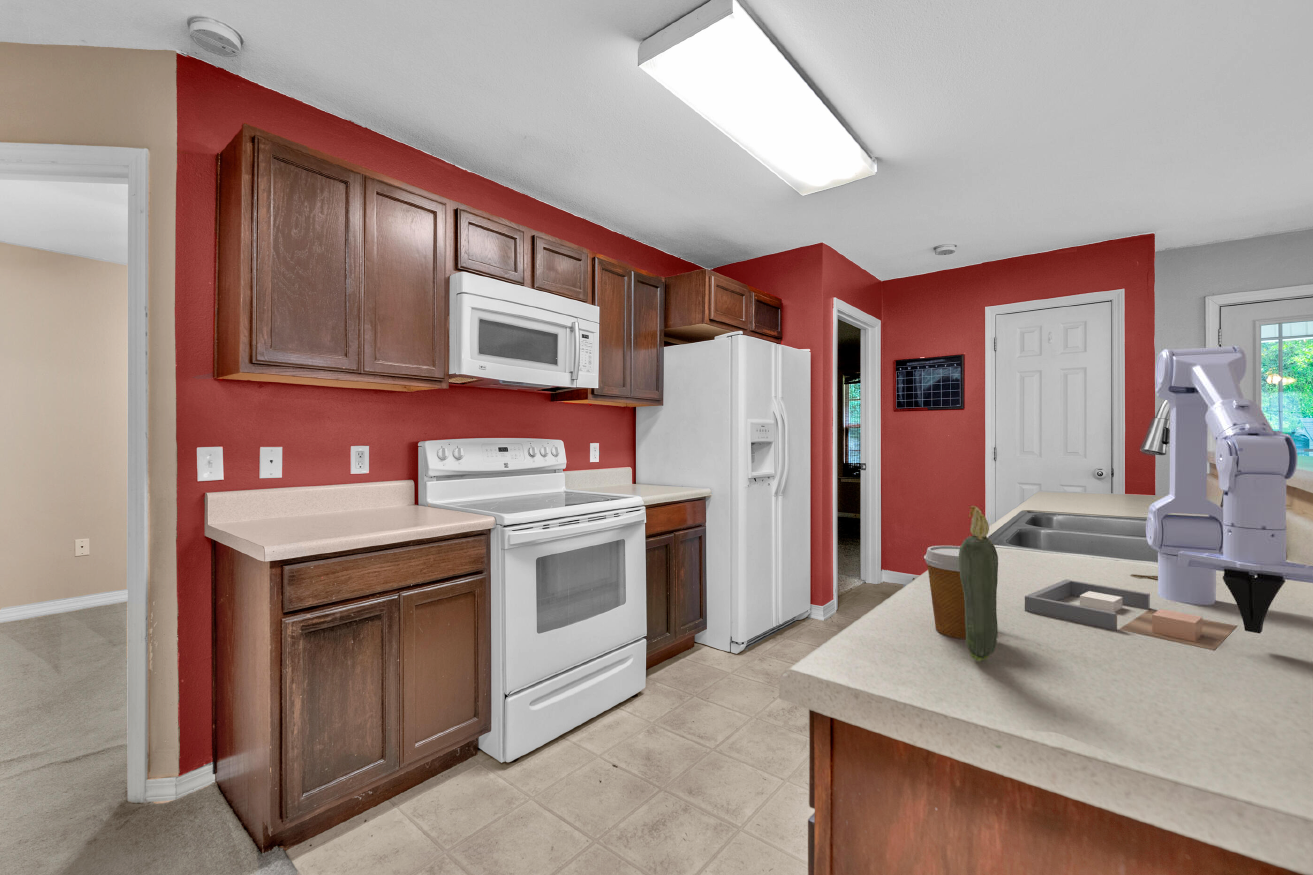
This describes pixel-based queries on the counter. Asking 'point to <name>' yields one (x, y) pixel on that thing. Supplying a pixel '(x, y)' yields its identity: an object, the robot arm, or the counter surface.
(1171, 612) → the terracotta tile
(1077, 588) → the tray
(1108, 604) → the cream tile
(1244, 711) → the counter surface
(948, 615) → the disposable coffee cup
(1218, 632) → the walnut plate
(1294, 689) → the counter surface
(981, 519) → the vegetable
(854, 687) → the counter surface
